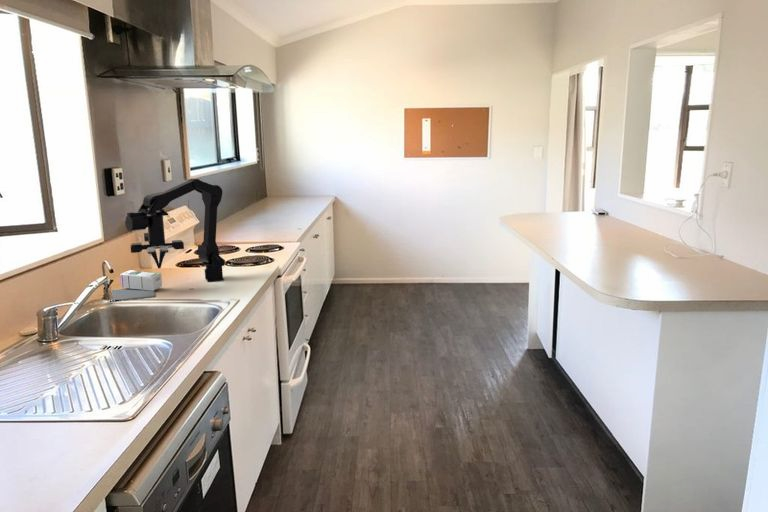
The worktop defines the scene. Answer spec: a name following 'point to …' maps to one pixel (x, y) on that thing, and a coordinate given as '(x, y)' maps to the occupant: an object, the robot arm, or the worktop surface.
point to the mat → (131, 294)
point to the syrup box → (141, 280)
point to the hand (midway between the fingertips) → (159, 268)
